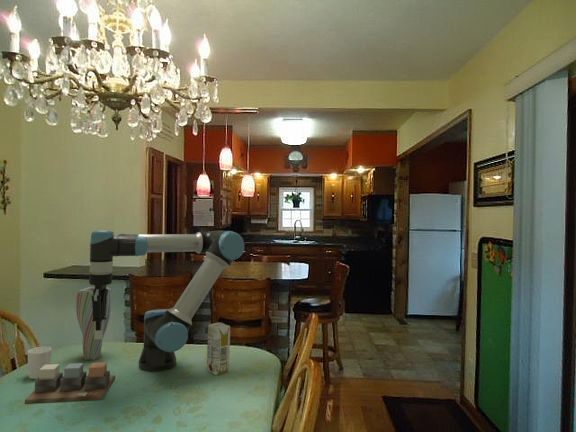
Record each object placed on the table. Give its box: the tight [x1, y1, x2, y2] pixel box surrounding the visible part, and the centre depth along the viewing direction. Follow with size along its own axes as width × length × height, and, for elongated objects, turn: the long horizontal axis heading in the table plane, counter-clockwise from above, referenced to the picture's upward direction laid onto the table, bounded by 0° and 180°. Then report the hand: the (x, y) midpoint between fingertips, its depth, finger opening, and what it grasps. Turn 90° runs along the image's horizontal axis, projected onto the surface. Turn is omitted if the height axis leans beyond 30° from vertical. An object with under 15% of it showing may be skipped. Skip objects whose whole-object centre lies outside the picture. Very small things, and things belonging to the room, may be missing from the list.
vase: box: [75, 286, 112, 361], centre depth 177 cm, size 14×14×30 cm
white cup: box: [27, 346, 52, 380], centre depth 155 cm, size 8×8×10 cm
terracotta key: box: [88, 361, 108, 378], centre depth 145 cm, size 5×5×5 cm
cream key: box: [39, 363, 60, 380], centre depth 142 cm, size 5×5×5 cm
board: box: [24, 370, 116, 404], centre depth 144 cm, size 24×18×5 cm
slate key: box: [63, 362, 84, 379], centre depth 144 cm, size 5×5×5 cm
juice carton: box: [206, 322, 231, 376], centre depth 165 cm, size 8×9×19 cm
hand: (98, 338), depth 145 cm, fingers closed
